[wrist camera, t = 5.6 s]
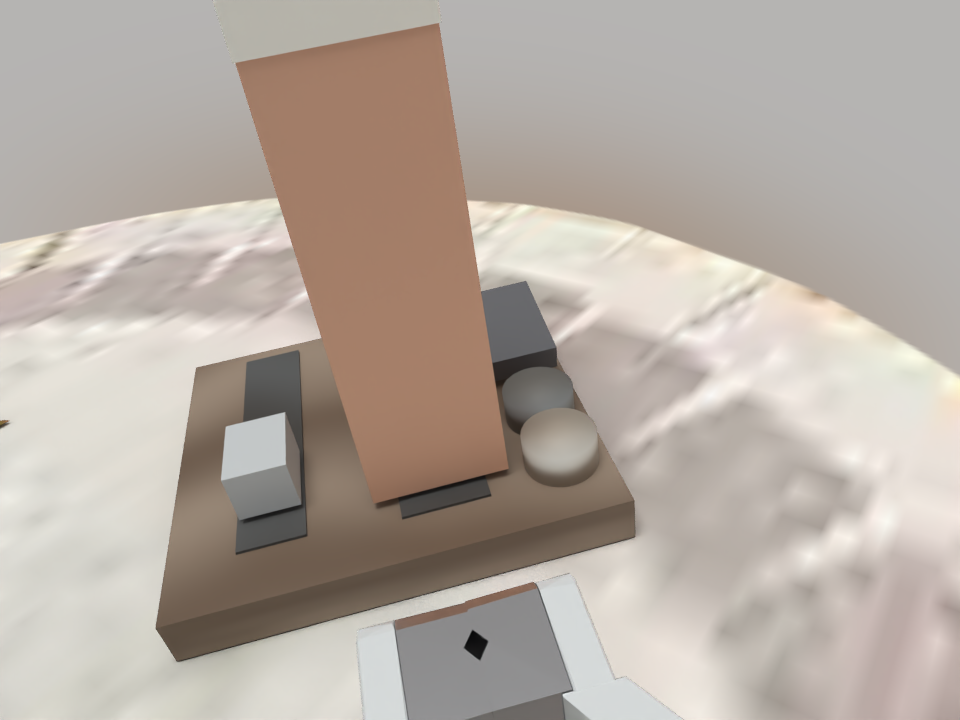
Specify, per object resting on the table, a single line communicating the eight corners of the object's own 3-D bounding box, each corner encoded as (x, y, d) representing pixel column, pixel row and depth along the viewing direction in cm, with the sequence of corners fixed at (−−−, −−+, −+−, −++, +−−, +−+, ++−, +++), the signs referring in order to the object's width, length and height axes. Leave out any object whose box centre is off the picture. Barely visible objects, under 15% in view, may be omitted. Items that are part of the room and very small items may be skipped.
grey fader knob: (301, 504, 22) (285, 464, 21) (239, 520, 22) (221, 480, 21) (299, 450, 24) (285, 412, 23) (242, 465, 24) (225, 426, 23)
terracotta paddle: (510, 469, 22) (425, -83, 14) (372, 505, 22) (199, -42, 13) (495, 428, 23) (410, -91, 15) (365, 461, 23) (207, -54, 15)
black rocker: (557, 366, 26) (556, 347, 25) (488, 382, 25) (486, 364, 25) (527, 299, 28) (526, 280, 27) (464, 314, 28) (461, 296, 27)
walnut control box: (635, 536, 22) (633, 471, 20) (176, 661, 20) (138, 602, 19) (523, 321, 31) (517, 266, 30) (209, 396, 30) (186, 343, 29)
